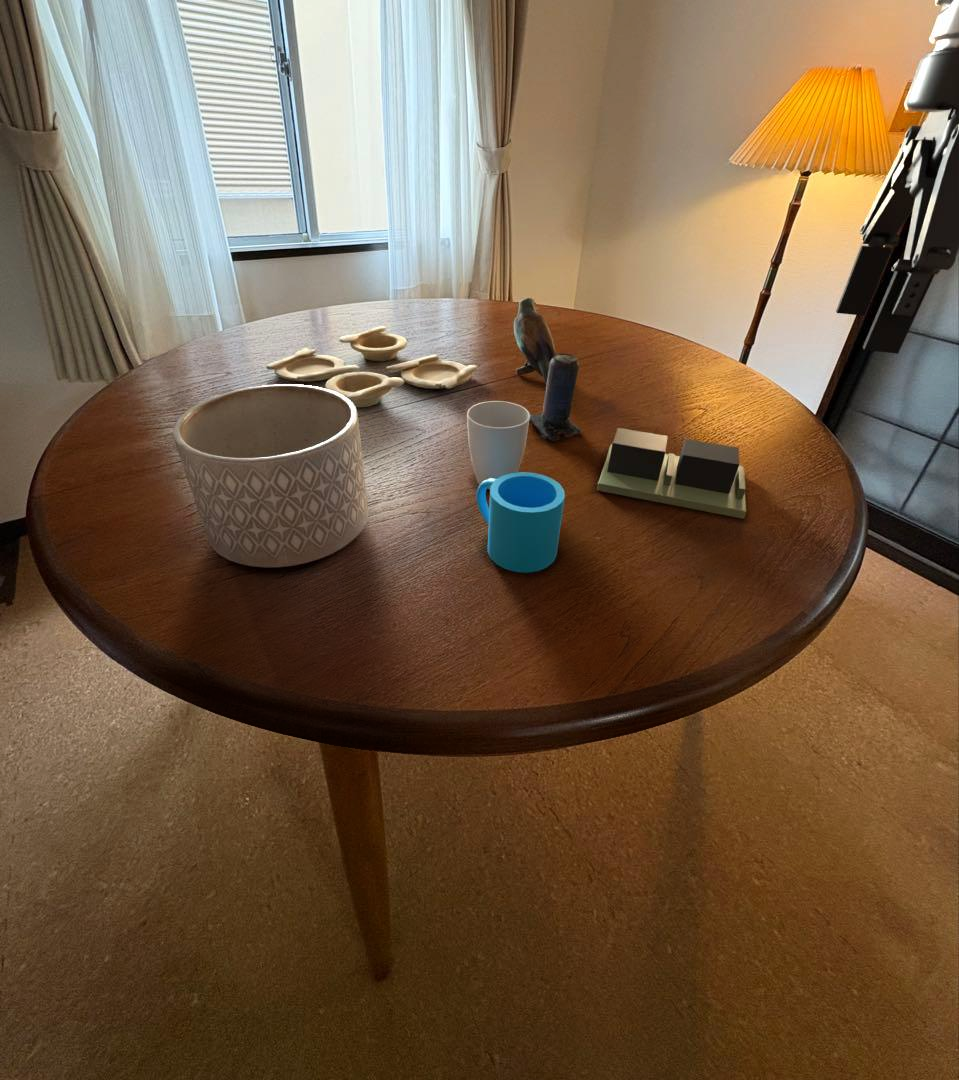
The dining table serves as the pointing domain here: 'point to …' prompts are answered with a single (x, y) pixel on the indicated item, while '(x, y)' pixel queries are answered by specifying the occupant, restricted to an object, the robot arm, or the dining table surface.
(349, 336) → the tableware set
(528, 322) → the bird figurine
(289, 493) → the planter
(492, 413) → the cup
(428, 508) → the dining table surface
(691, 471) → the dark grey block
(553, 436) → the dark cylinder on base
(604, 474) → the dock
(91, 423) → the dining table surface
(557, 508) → the mug
